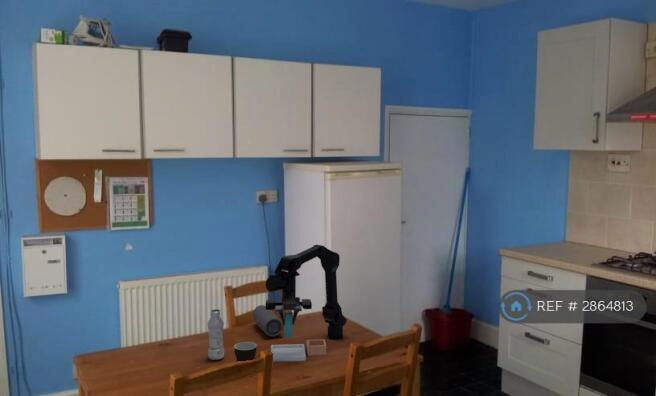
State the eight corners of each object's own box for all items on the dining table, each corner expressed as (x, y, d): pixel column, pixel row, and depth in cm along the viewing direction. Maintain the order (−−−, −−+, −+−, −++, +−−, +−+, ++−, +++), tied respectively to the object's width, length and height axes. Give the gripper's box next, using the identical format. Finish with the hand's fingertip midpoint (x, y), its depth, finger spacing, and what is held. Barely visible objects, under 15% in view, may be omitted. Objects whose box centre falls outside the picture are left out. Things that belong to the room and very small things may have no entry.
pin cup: (324, 348, 232) (324, 339, 231) (326, 355, 224) (326, 345, 224) (306, 349, 231) (306, 339, 231) (307, 355, 223) (307, 346, 223)
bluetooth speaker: (251, 325, 262) (251, 304, 261) (270, 323, 266) (270, 303, 265) (263, 340, 241) (263, 318, 240) (283, 338, 244) (283, 316, 244)
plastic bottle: (227, 356, 222) (226, 309, 220) (218, 363, 215) (218, 313, 214) (213, 354, 224) (212, 307, 222) (204, 360, 218) (203, 312, 216)
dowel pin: (292, 335, 225) (292, 311, 225) (292, 338, 222) (292, 314, 221) (284, 335, 225) (284, 311, 224) (284, 338, 222) (284, 314, 221)
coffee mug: (252, 376, 202) (252, 350, 202) (230, 374, 204) (230, 349, 203) (262, 364, 214) (262, 340, 213) (241, 363, 216) (241, 338, 215)
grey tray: (303, 348, 232) (303, 344, 232) (305, 360, 218) (305, 356, 218) (271, 349, 231) (270, 345, 230) (270, 361, 217) (270, 357, 217)
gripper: (265, 292, 213) (265, 331, 214) (312, 292, 215) (312, 330, 216) (265, 286, 224) (265, 323, 225) (310, 285, 226) (310, 322, 227)
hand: (288, 324), depth 223 cm, fingers closed on dowel pin, 3 cm apart
